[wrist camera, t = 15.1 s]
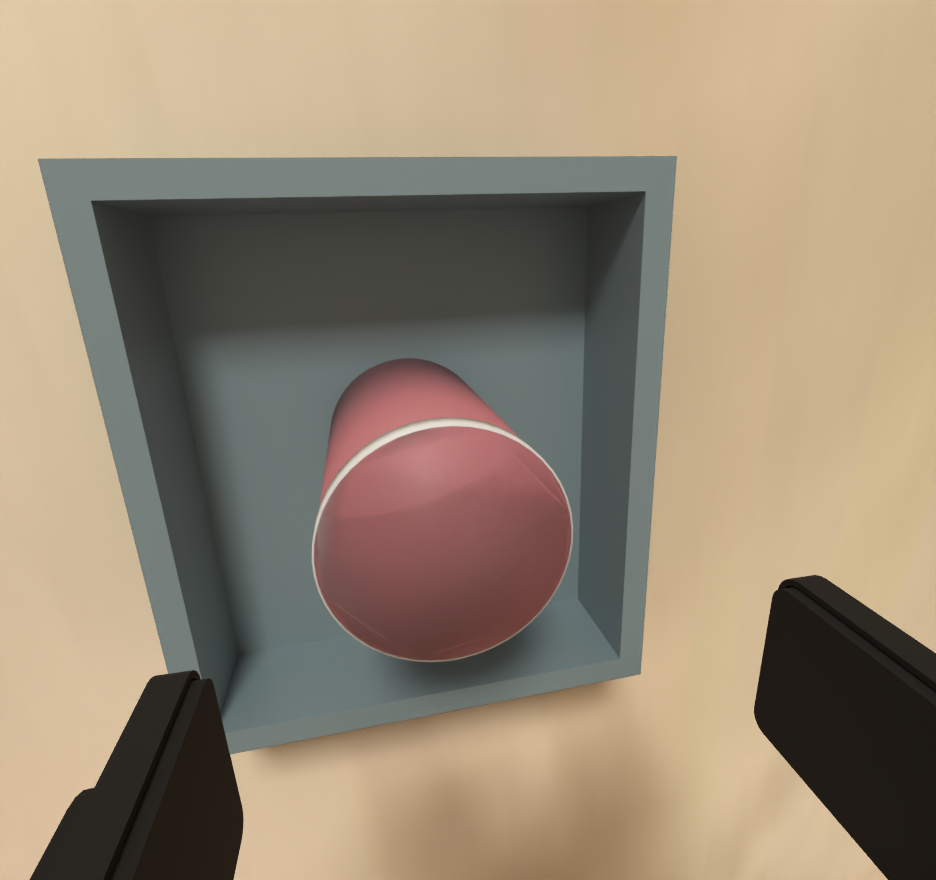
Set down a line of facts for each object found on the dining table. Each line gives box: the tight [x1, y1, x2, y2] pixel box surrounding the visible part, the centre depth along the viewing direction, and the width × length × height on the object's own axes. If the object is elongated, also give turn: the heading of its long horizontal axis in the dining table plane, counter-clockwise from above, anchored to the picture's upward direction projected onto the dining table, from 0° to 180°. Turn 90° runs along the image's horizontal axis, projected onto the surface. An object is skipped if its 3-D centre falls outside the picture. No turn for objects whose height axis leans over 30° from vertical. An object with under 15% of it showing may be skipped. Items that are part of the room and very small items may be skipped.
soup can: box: [312, 358, 573, 662], centre depth 18 cm, size 6×6×10 cm
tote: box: [38, 156, 677, 754], centre depth 21 cm, size 18×20×6 cm
